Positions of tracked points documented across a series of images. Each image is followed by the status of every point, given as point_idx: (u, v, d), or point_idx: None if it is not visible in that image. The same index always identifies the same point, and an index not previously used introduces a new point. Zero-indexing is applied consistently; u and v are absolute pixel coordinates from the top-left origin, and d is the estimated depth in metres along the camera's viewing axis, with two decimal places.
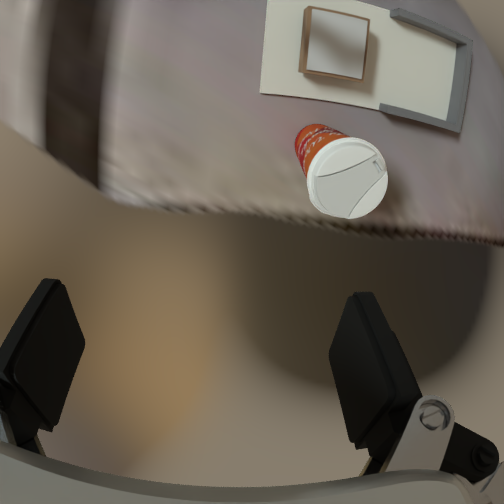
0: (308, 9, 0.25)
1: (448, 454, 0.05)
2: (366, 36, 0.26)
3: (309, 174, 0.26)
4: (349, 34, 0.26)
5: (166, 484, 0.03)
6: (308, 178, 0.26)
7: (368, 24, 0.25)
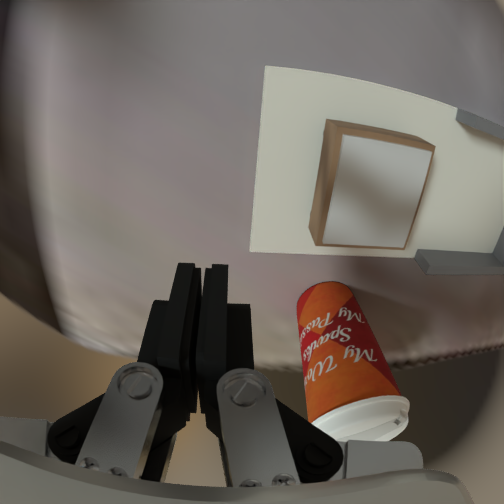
0: (335, 134, 0.16)
1: None
2: (424, 179, 0.18)
3: None
4: (399, 179, 0.18)
5: (166, 484, 0.03)
6: None
7: (431, 156, 0.17)
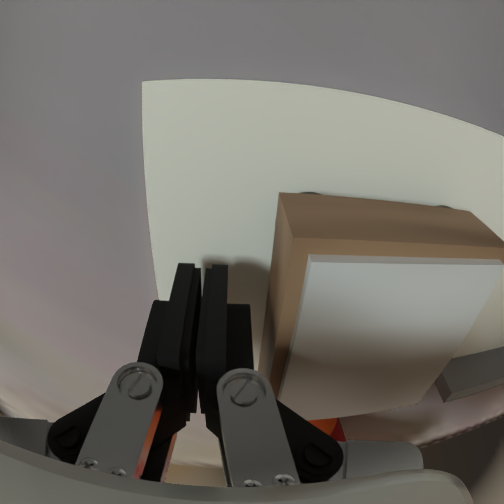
0: (289, 257, 0.07)
1: None
2: (478, 314, 0.08)
3: None
4: (432, 326, 0.08)
5: (166, 484, 0.03)
6: None
7: None
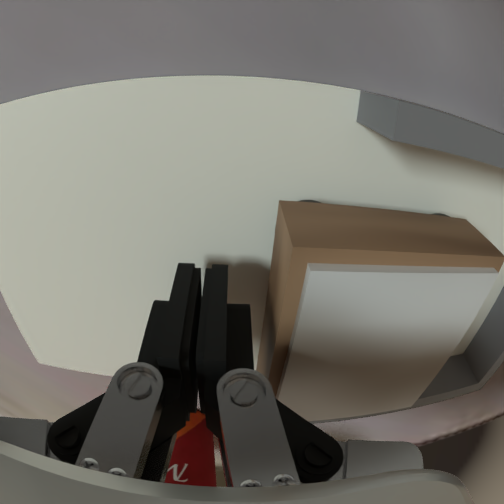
0: (289, 265, 0.07)
1: None
2: (472, 320, 0.08)
3: None
4: (427, 332, 0.08)
5: (166, 484, 0.03)
6: None
7: None
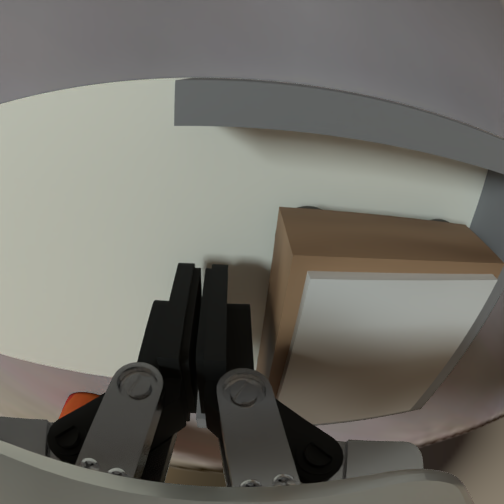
0: (289, 273, 0.07)
1: None
2: None
3: None
4: (425, 338, 0.08)
5: (166, 484, 0.03)
6: None
7: None
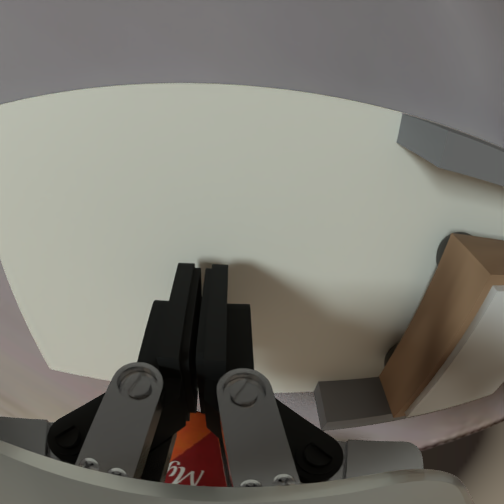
0: (483, 287, 0.08)
1: None
2: None
3: None
4: None
5: (166, 484, 0.03)
6: None
7: None
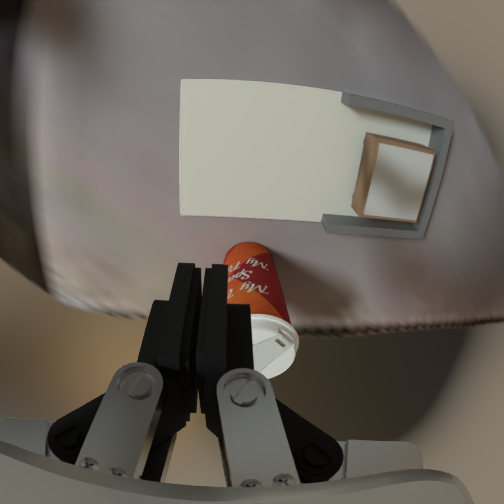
0: (374, 142, 0.25)
1: None
2: (429, 173, 0.27)
3: None
4: (413, 173, 0.27)
5: (166, 484, 0.03)
6: None
7: (433, 158, 0.26)
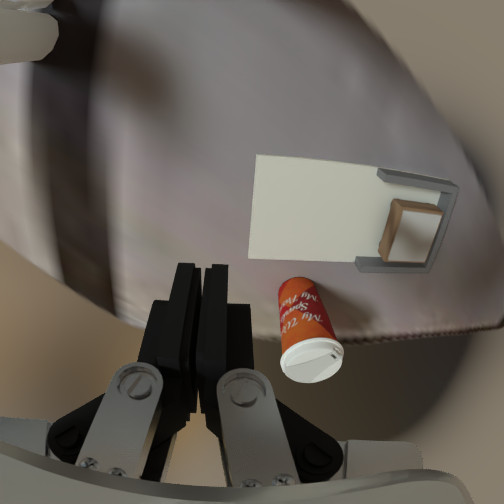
0: (400, 210, 0.35)
1: None
2: (437, 228, 0.36)
3: (282, 360, 0.35)
4: (425, 229, 0.36)
5: (165, 483, 0.03)
6: (281, 362, 0.35)
7: (441, 217, 0.36)
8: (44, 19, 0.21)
